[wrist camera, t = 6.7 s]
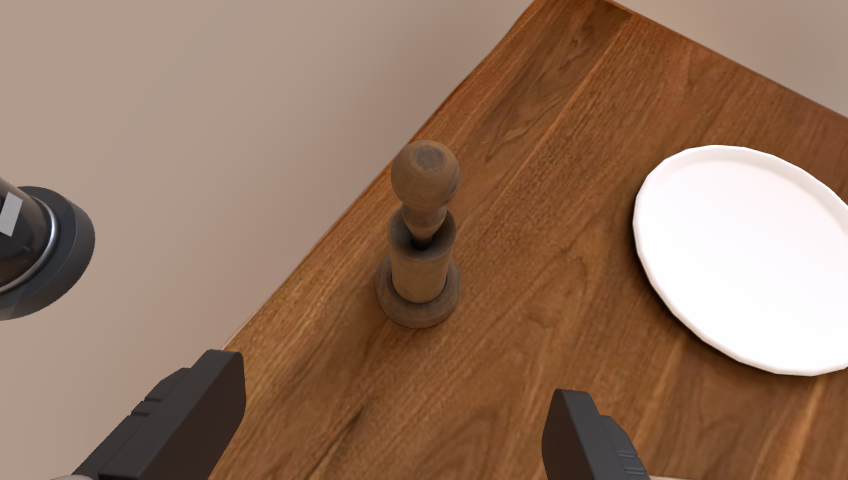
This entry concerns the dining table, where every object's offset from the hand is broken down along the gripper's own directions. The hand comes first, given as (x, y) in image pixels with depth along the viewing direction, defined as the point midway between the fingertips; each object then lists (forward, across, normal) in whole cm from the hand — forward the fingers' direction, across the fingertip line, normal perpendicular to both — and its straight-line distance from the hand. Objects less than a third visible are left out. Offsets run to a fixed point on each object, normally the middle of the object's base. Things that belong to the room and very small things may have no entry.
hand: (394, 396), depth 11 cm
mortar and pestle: (+21, 0, +8) cm, 23 cm away
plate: (+26, -28, +4) cm, 38 cm away
